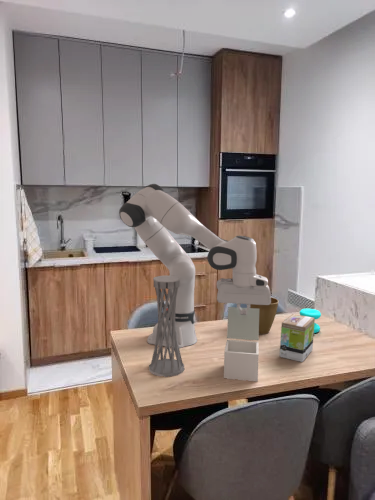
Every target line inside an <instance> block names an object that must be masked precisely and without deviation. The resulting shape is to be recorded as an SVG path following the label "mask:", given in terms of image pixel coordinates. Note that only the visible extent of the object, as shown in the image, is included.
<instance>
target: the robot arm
mask: <svg viewBox="0 0 375 500" xmlns="http://www.w3.org/2000/svg"><path fill="white" fill-rule="evenodd" d="M118 214H119V217H120V219H121V221H122V223H124V224H125V226H127V227H129V228H134V230H135V231H136V233H137V235H138V236H139V238H140V239H141V241H143V243H144V244H145V246H147V247H148V249H149V250H150V251H151V252H152V254H153V255H154V256H155V257H156V258H157V259H158V260H159V261H160V262H161V263H162V264H163V265H164V266H165V267H166V269H167V270H168V272H169V276H177V277H179V278H180V287H178V291H177V296H176V311H175V322H176V331H177V339H178V345H179V349H180V348H183V347H188V346H191V345H194V344H195V343H197V342H198V338H197V333H196V328H195V323H196V310H195V285H196V266H195V264H194V262H193V260H192V258H191V257H190V255H188V254H187V251H185V250H184V248H182V246H181V245H180V244H179V243H178V242H177V240H176V239H175V238H174V237H173V236H172V234H171V233H173V234H176V235H184V236H188V237H190V238H194V239H195V240H197V241H198V242H199V243H200V244H202V245H203V246H205V248H207V249H208V250H209V251H208V253H207V257H206V258H207V262H208V264H209V266H210V267H211V268H212V269H214V270H215V271H224V270H230V269H231V270H232V277H231V278H224V277H222V278H220V279H219V278H218V280H217V281H216V289H217V294H216V301H217V302H218V303H219V304H236V307H238V309H239V311H240V315H247V311H248V310H249V308H250V304H256V305H269V304H270V303H271V296H272V295H271V289H270V286H269V285H268V284H269V280H268V278H267V277H266V276H264V275H263V276H262V275H260V274H258V273H257V268H256V265H257V259H258V256H257V255H258V254H257V253H258V252H257V243H256V241H255V239H254V238H252V237H249V236H246V235H236V236H235V237H233V238H232V239H230V240H227V239H224V238H222V237H220V236H218V235H217V234H216V233H215V232H213V231H211V230H210V229H209V228H208V227H207V226H205V225H204V224H203V223H202V222H200V221H199V220H198V219H197V217H196V216H194V215H193V214H192V213H191V212H190V211H189V209H187V208H186V207H185V206H184V205H183V204H182V203H181V202H180V201H178V200H177V199H176V198H174V197H173V196H171V195H170V194H169V193H167V192H166V191H165V190H164V188H163V187H161V186H160V185H158V184H156V183H151V184H149V185H146V186H144V188H141V189H140V190H139V191H137V192H136V193H134V195H133V196H131V197H130V199H128V201H126V202H125V203H123V205H122V206H121V207H120V208H119V211H118ZM169 231H170V232H169ZM172 293H173V289H172ZM168 302H169V305H170V297H169V301H168ZM241 305H246V307H245V308H246V310H243V309H241V308H242V307H241ZM166 311H167V313H168V308H167V309H166ZM165 321H166V318H165V317H164V322H165ZM169 322H170V316H169ZM157 326H158V322H157V323H156V324H155V325H154V327H153V329H152V332H151V333H150V334H149V335H148V337H147V339H146V340H147V341H146V342H147V343H148V344H149V345H154V346H155V342H156V334H157ZM168 330H169V329H168V326H167V328H166V332H167V335H168ZM171 330H172V325H171ZM162 332H163V325H162ZM174 341H175V340H174ZM159 344H160V340H159V342H158V346H159ZM169 346H170V348H171V346H172V340H171V337H169ZM162 347H166V339H165V336H164V340H163V344H162Z"/></svg>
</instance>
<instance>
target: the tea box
mask: <svg viewBox="0 0 375 500" xmlns="http://www.w3.org/2000/svg"><path fill="white" fill-rule="evenodd" d="M315 320H316V319H315V318H313V317H307V316H301V315H300V314H295V313H292V314H291V315H290V316H288V317H287V318H286V319H284V320H283V321H282V322H281V327H280V328H281V329H280V331H281V332H280V343H279V357H281V358H284V359H287V360H292V361H296V362H302V363H303V362H304V361H305V359H306V358H307V357H308V356H309V355H310V354H311V352H312V351H313V347H314V334H315V333H314V323H315Z"/></svg>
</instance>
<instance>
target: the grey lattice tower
mask: <svg viewBox="0 0 375 500" xmlns="http://www.w3.org/2000/svg"><path fill="white" fill-rule="evenodd" d="M178 287H180V278H179V277H177V276H170V275H158V276H155V277H153V288H154V290H155V293H156V302H157V303H156V304H157V323H158V326H157V334H156V342H155V345H154V349H153V354H152V357H151V362H150V363H149V365H148V371H149V372H150V374H153V376H156V377H161V376H164V377H165V378H168V376H169V377H174V376H178V375H181V374H182V373H184V371H185V364H184V362H183V359H182V354H181V350H180V348H179V345H178V339H177V331H176V322H175V311H176V296H177V291H178ZM172 289H173V293H172ZM169 297H170V305H169ZM164 298H165V301H164ZM167 308H168V313H167V311H166V309H167ZM169 316H170V322H169ZM164 318H166V321H165V322H164ZM162 325H163V332H162ZM171 325H172V330H171ZM167 326H168V329H169V330H168V335H167V332H166V328H167ZM164 336H165V339H166V346H164V350H163V346H162V344H163V340H164ZM169 337H171V340H172V346H171V347H170V346H169ZM159 340H160V344H159V345H158V342H159ZM174 340H175V341H174ZM163 353H164V354H163ZM167 353H168V354H167ZM167 355H168V358H167Z"/></svg>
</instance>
